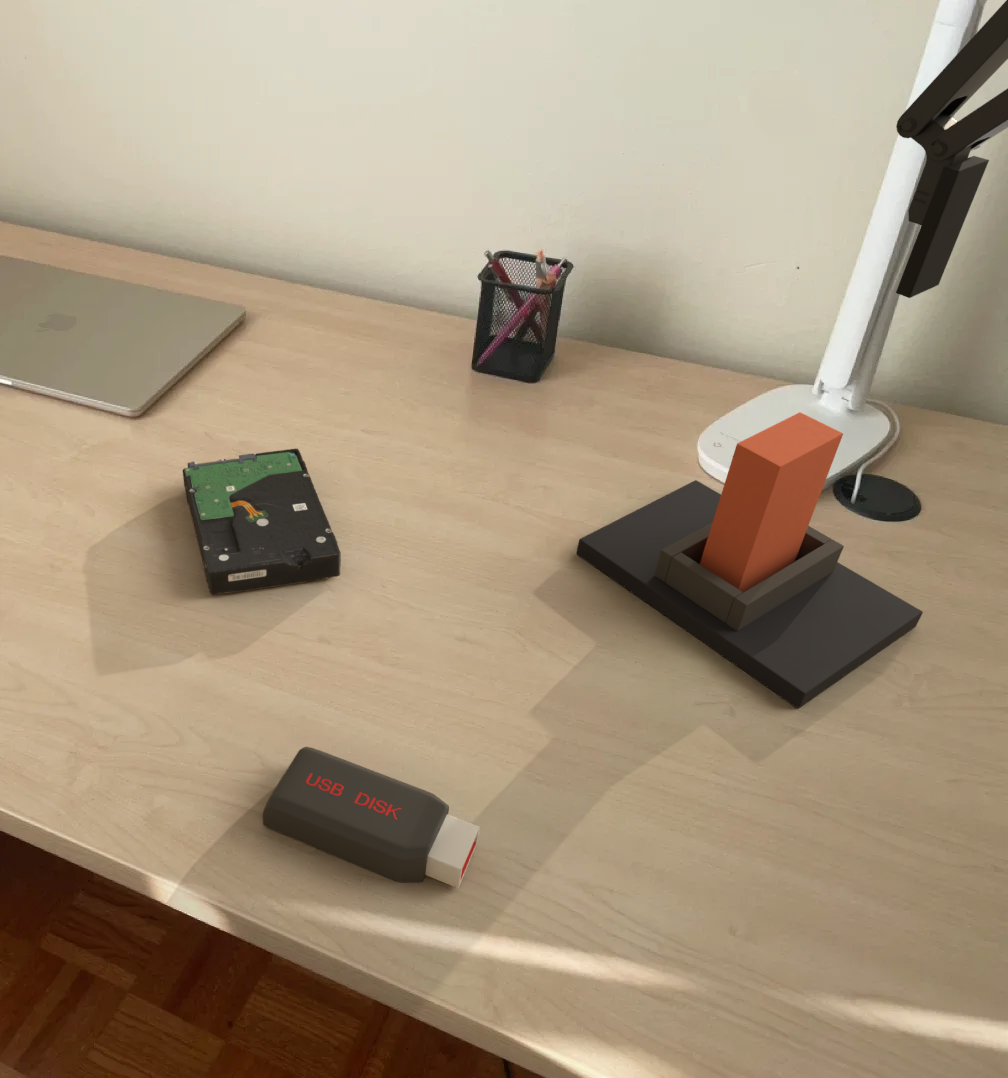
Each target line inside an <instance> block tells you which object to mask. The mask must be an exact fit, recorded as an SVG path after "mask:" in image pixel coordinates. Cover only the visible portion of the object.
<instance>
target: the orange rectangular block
mask: <svg viewBox="0 0 1008 1078" xmlns="http://www.w3.org/2000/svg"><path fill="white" fill-rule="evenodd" d="M843 436H844V433H843V432H841V431H840V430H838V429H835V428H833V427H831V426H830V425H827V424H825V423H824V422H821V421H819V420H817V419H815V418H813V417H811V416H809V415H807V414H805V413H802V412H798V413H796V414H793V415H791V416H789V417H787V418H786V419H785V418H784V420H781V421H779V422H777V423H775V424H773V425H771V426H769V427H767V428H765V429H763V430H761V431H760V432H758V433H755V434H754V435H751V436H750V437H748V438H745V439H743V440H741V441H739V442H737V443H736V445H735V449H734V452H733V455H732V458H731V462H730V465H729V468H728V471H727V474H726V478H725V480H724V484H723V487H722V490H721V493H720V494H721V497H720V500H719V503H718V507H717V510H716V513H715V516H714V520H713V523H712V526H711V529H710V533H709V536H708V539H707V542H706V546H705V549H704V552H703V555H702V559H701V562H700V565H701V566H703V567H704V568H706V569H707V570H709V571H711V572H712V573H714V574H715V575H717V576H718V577H720V578H721V579H723V580H725V581H726V582H728V583H729V584H731V585H732V586H734V587H736V588H737V589H739V590H740V591H742V592H743V593H744V592H745V591H747V590H749V589H750V588H752V587H754V586H755V585H757V584H759V583H760V582H762V581H764V580H765V579H767V578H769V577H770V576H772V575H774V574H775V573H777V572H779V571H780V570H782V569H784V568H785V567H787V566H789V565H790V564H792V563H794V562H795V559H796V557H797V554H798V552H799V549H800V546H801V544H802V541H803V538H804V536H805V533H806V531H807V528H808V526H810V523H811V521H812V517H813V515H814V512H815V509H816V507H817V504H818V501H819V499H820V496H821V494H822V491H823V489H824V485H825V483H826V482H827V478H828V475H829V473H830V470H831V467H832V465H833V462H834V459H835V457H836V454H837V451H838V450H839V447H840V444H841V441H842V439H843Z"/></svg>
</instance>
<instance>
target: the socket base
mask: <svg viewBox="0 0 1008 1078" xmlns="http://www.w3.org/2000/svg"><path fill="white" fill-rule="evenodd" d="M721 494H722V493H719V492H717V491H715V490H714V489H712V488H710V486H707V485H705V484H704V483H702V482H700V481H699V480H697V479H695V480H693V481H691V482H689V483H687V484H684V485H683V486H681V487H679V488H677V489H675V490H673V491H671V492H669V493H667V494H665V495H663V496H662V497H660V498H657V499H656V500H653V501H652V502H649V503H648V504H646V505H644V506H642V507H640V508H638V509H636V510H634V511H632V512H630V513H628V514H626V515H624V516H622V517H621V518H618V519H616V520H615V521H613V522H610V523H608V524H606V525H604V526H602V527H600V528H598V529H597V530H595V531H593V532H591V533H589V534H587V535H584V536H583V537H581V538H579V539H578V543H577V548H576V551H575V552H576V553H575V554H576V555H577V556H578V557H580V558H582V559H583V560H585V561H586V562H588V563H589V564H590V565H591V566H593V567H594V568H596V569H597V570H599V571H600V572H602V573H603V574H605V575H606V576H607V577H609V578H610V579H612V580H613V581H615V582H616V583H617V584H619V585H620V586H622V587H623V588H625V589H626V590H627V591H629V592H630V593H632V594H633V595H635V596H636V597H637V598H639V599H640V600H642V601H643V602H645V603H646V604H648V606H650V607H652V608H654V609H655V610H657V612H659V613H661V614H662V615H663V616H665V617H666V618H668V619H669V620H670V621H672V622H673V623H675V624H676V625H678V626H679V627H681V628H682V629H683V630H684V631H686V632H688V633H689V634H691V635H692V636H694V637H695V638H696V639H698V640H699V641H701V642H702V643H703V644H705V645H706V646H707V647H709V648H710V649H712V650H713V651H715V652H716V653H718V654H720V655H721V656H722V657H724V658H725V659H726V660H728V661H730V662H731V663H732V664H734V665H735V666H736V667H738V668H739V669H741V670H742V671H743V672H745V673H747V674H748V675H749V676H751V677H752V678H754V679H755V680H756V681H758V682H759V683H760V684H762V685H763V686H764V687H767V688H768V689H769V690H771V691H772V692H773V693H775V694H776V695H778V696H779V697H781V698H782V699H784V700H785V701H787V702H788V703H790V705H792V706H793V707H795V708H797V709H800V708H802V707H803V706H805V705H806V704H808V703H809V702H810V701H812V700H813V699H815V698H816V697H817V696H819V695H820V694H822V693H823V692H824V691H826V690H828V689H829V688H830V687H832V686H833V685H835V684H836V683H838V682H839V681H840V680H841V679H843V678H845V677H846V676H847V675H849V674H851V673H852V672H853V671H854V670H857V669H858V668H859V667H861V666H862V665H863V664H864V663H866V662H867V661H869V660H870V659H872V658H873V657H875V656H876V655H877V654H879V653H880V652H882V651H883V650H884V649H886V648H887V647H889V646H890V645H892V644H893V643H895V642H896V641H898V640H899V639H900V638H902V637H903V636H905V635H907V634H908V633H909V632H910V631H912V630H913V629H914V628H916V627H917V625H918V624H919V621H920V619H921V617H922V616H923V613H924V612H923V611H922V610H921V609H920V608H918V607H916V606H914V605H912V604H911V603H909V602H907V601H905V600H903V599H902V598H900V597H899V596H896V595H895V594H893V593H892V592H890V591H888V590H887V589H885V588H883V587H881V586H879V585H878V584H876V583H874V582H873V581H872V580H869V579H867V578H866V577H864V576H862V575H860V574H859V573H857V572H855V571H854V570H852V569H850V568H848V567H847V566H846V565H843V564H842V563H840V562H839V560H840V557H841V554H842V552H843V550H844V547H845V546H844V545H843V544H841V543H840V542H838V541H836V540H835V539H832V538H831V537H829V536H827V535H826V534H823V533H822V532H821V531H819V530H817V529H815V528H813V527H811V526H810V525H808V528H807V531H806V533H805V536H804V538H803V541H802V544H801V546H800V549H799V552H798V554H797V557H796V559H795V562H794V563H792V564H790V565H789V566H787V567H785V568H784V569H782V570H780V571H779V572H777V573H775V574H774V575H772V576H770V577H769V578H767V579H765V580H764V581H762V582H760V583H759V584H757V585H755V586H754V587H752V588H750V589H749V590H747V591H745V592H744V593H743V592H742V591H740V590H739V589H737V588H736V587H734V586H732V585H731V584H729V583H728V582H726V581H725V580H723V579H721V578H720V577H718V576H717V575H715V574H714V573H712V572H711V571H709V570H707V569H706V568H704V567H703V566H701V565H700V562H701V559H702V555H703V552H704V549H705V546H706V542H707V539H708V536H709V533H710V529H711V526H712V523H713V520H714V516H715V513H716V510H717V507H718V503H719V500H720V497H721Z"/></svg>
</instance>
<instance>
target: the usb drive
mask: <svg viewBox="0 0 1008 1078" xmlns="http://www.w3.org/2000/svg"><path fill="white" fill-rule="evenodd" d="M265 803H266V804H265V806H264V808H263V812H262V825H263V826H264V827H266V828H267V829H270V830H273V831H275V832H277V833H280V834H282V835H284V836H287V837H289V838H291V839H294V840H296V841H298V842H301V843H304V844H306V845H308V846H311V847H313V848H315V849H317V850H320V851H322V852H325V853H327V854H330V855H332V856H334V857H337V858H340V859H342V860H343V861H347V862H349V863H351V864H354V865H356V866H359V867H360V868H363V869H366V870H368V871H371V872H373V873H375V874H378V875H379V876H383V877H385V878H387V879H390V880H392V881H395V882H398V883H422V882H423V881H424V880H425V877H426V876H427V877H429V878H431V879H434V880H437V881H439V882H442V883H444V884H447V885H449V886H452V887H454V888H456V889H460V885H461V883H462V881H463V879H464V876H465V874H466V871H467V869H468V867H469V864H470V862H471V859H472V858H473V856H474V852H475V851H476V848H477V845H478V840H479V836H480V830H481V826H479V825H476V824H475V823H471V822H469V821H466V820H463V819H461V818H459V817H455V816H453V815H451V814H449V812H450V805H449V804H448V803H446V802H445V801H443V799H441V798H440V797H438V796H437V795H436V794H435V793H432V792H430V791H427V790H426V789H422V788H420V787H418V786H415V785H412V784H409V783H406V782H403V781H402V780H399V779H396V778H393V777H391V776H389V775H386V774H383V773H380V772H377V771H375V770H372V769H370V768H367V767H364V766H362V765H359V764H357V763H354V762H351V761H349V760H347V759H344V758H341V757H339V756H335V755H333V754H330V753H327V752H325V751H322V750H320V749H317V748H314V747H310V746H303V747H302V748H300V749H299V750H298V751H297V753H296V755H295V756H294V758H293V760H291V762H290V764H289V766H288V767H287V769H286V770H285V772H284V773H283V776H282V777H281V778H280V780H279V782H278V783H277V784H276V787H274V790H273V791H272V792H271V794H270V795H269V798H268V799H267V801H266V802H265Z"/></svg>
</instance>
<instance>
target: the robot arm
mask: <svg viewBox="0 0 1008 1078" xmlns="http://www.w3.org/2000/svg"><path fill="white" fill-rule="evenodd" d="M1007 60H1008V0H1005V1H1004V2H1003V3H1002V4H1001V5H1000V7H999V8H998V9H997V10H996V11H995V12H994V13H993V15H991V17H990V18H989V19H988V20H987V21H986V22H985V23H984V24H983V25H982V27H981V28H979V30H978V31H977V32H976V33H975V34H974V35H973V36H972V38H970V39H969V41H968V42H967V43H966V44H965V45H964V46H963V47H962V48H961V50H960V51H959V52H958V53H957V54H956V55H955V56H954V57H953V58H952V59H951V61H950V62H949V63H948V64H947V65H946V66H945V67H944V68H943V69H942V71H940V72H939V74H938V75H936V77H935V78H934V79H933V80H932V81H931V82H930V84H929V85H928V86H926V88H925V89H924V90H923V91H922V92H921V93H920V95H918V96H917V98H916V99H915V100H914V101H913V102H912V103H911V104H910V106H908V108H907V109H906V110H905V111H904V112H903V113H902V114H901V116H899V118H898V119H897V121H896V125H895V126H896V132H897V134H898V135H899V136H900V137H902V138H904V139H912V140H913V141H914V142H916V143H917V144H918V145H920V146H921V148H923V150H924V152H925V156H926V157H925V158H926V161H925V163H924V167H923V169H922V172H921V175H920V178H919V180H918V183H917V184H916V185H917V186H916V188H915V191H914V194H913V196H912V199H911V202H910V204H909V207H908V210H907V211H908V214H907V215H908V222H911V223H913V224H916V225H920V228H919V231H918V233H917V235H916V239H915V241H914V244H913V246H912V248H911V252H910V254H909V257H908V260H907V262H906V264H905V267H904V270H903V273H902V275H901V278H900V281H899V283H898V286H897V288H896V291H895V294H898V295H900V296H903V297H905V298H908V299H911V298H913V297H915V296H919V295H920V294H921V293H924V292H926V291H929V290H931V289H933V288H935V287H938V286H939V285H940V283H941V280H942V277H943V275H944V273H945V271H946V267H947V265H948V263H949V260H950V258H951V255H952V253H953V251H954V248H955V246H956V243H957V241H958V238H959V236H960V233H961V230H962V228H963V226H964V223H965V222H966V219H967V216H968V214H969V212H970V208H971V206H972V204H973V201H974V199H975V196H976V194H977V191H978V189H979V186H980V184H981V181H982V179H983V177H984V174H985V172H986V169H987V167H988V164H989V163H990V160H989V159H988V158H984V157H980V156H976V155H972V156H970V153H971V151H973V150H974V151H975V150H977V149H979V148H981V145H983V144H984V143H986V142H987V141H989V140H991V139H992V138H994V137H995V136H998V135H999V134H1000V133H1002V132H1003V131H1005V130H1006V129H1008V88H1006V89H1004V90H1002V91H1001V92H1000V93H998V94H997V95H996V96H994V97H992V98H991V99H989V100H988V101H986V102H985V103H983V104H982V105H980V106H979V107H978V108H976V109H974V110H973V111H972V112H970V113H969V114H967V115H966V116H964V117H962V118H961V119H960V120H956V119H955V118H954V115H956V114H957V113H958V111H959V110H960V109H961V108H963V106H964V105H966V103H967V102H968V101H969V100H971V98H972V97H973V96H974V95H975V94H976V93H977V92H978V90H980V88H981V87H982V86H983V85H984V84H985V83H986V82H988V80H989V79H990V78H991V77H992V76H993V75H994V74H995V73H996V72H997V71H998V70H999V69H1000V68H1001V67H1002V66H1003V65H1004V64H1005V62H1006V61H1007Z"/></svg>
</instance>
